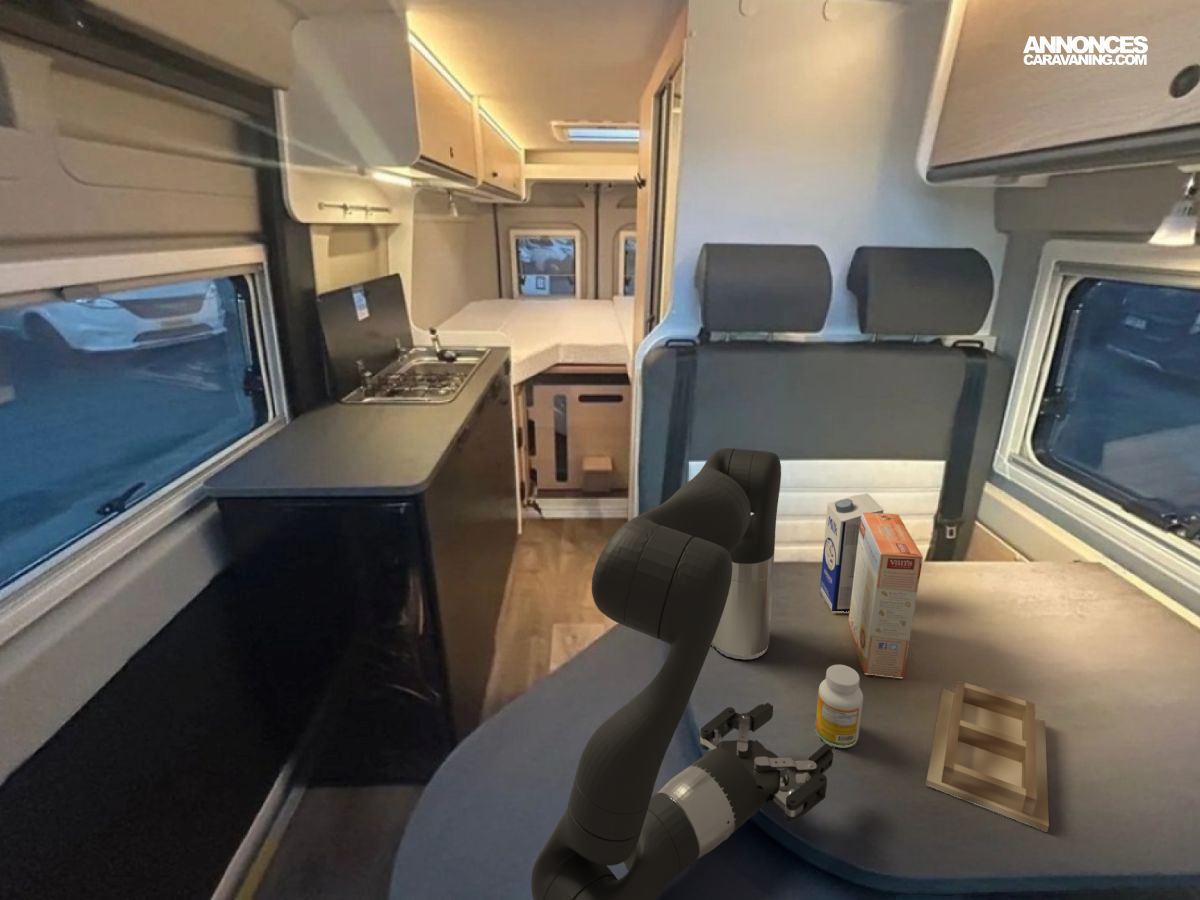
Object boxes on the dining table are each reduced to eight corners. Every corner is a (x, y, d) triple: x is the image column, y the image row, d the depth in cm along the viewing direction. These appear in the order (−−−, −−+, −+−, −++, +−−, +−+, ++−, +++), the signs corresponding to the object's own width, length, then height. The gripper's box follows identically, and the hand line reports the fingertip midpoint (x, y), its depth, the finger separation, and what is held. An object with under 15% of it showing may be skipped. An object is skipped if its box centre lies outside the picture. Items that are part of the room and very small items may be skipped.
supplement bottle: (826, 713, 86) (832, 655, 83) (865, 733, 82) (872, 673, 79) (807, 735, 83) (812, 675, 79) (846, 757, 79) (854, 695, 76)
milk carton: (871, 614, 107) (884, 508, 101) (832, 615, 108) (842, 510, 101) (856, 591, 114) (867, 491, 107) (819, 592, 114) (828, 492, 108)
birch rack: (925, 786, 74) (929, 763, 73) (941, 694, 89) (945, 674, 87) (1047, 833, 68) (1053, 809, 67) (1043, 726, 82) (1048, 705, 81)
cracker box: (906, 681, 91) (925, 555, 84) (862, 677, 93) (878, 553, 86) (885, 625, 104) (900, 512, 97) (847, 621, 106) (859, 510, 99)
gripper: (760, 822, 60) (855, 740, 69) (660, 735, 71) (754, 673, 80) (757, 877, 63) (848, 790, 72) (661, 785, 73) (751, 720, 82)
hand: (798, 729), depth 76 cm, fingers open, 8 cm apart
